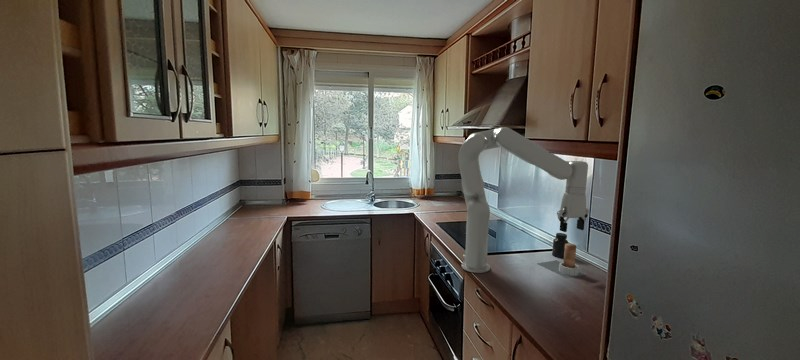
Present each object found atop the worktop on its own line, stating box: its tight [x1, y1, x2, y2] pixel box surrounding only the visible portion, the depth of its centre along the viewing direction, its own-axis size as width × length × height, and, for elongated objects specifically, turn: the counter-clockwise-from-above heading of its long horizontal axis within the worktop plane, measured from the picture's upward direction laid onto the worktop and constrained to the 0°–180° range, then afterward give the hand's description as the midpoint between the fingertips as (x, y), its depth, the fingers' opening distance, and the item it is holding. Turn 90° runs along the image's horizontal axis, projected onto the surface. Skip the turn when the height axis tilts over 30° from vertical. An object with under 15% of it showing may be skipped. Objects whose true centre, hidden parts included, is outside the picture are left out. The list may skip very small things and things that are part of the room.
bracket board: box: [536, 260, 588, 279], centre depth 154 cm, size 17×12×4 cm
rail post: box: [563, 243, 577, 268], centre depth 150 cm, size 4×4×12 cm
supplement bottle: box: [551, 232, 570, 259], centre depth 170 cm, size 7×7×12 cm
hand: (571, 230), depth 148 cm, fingers open, 9 cm apart
